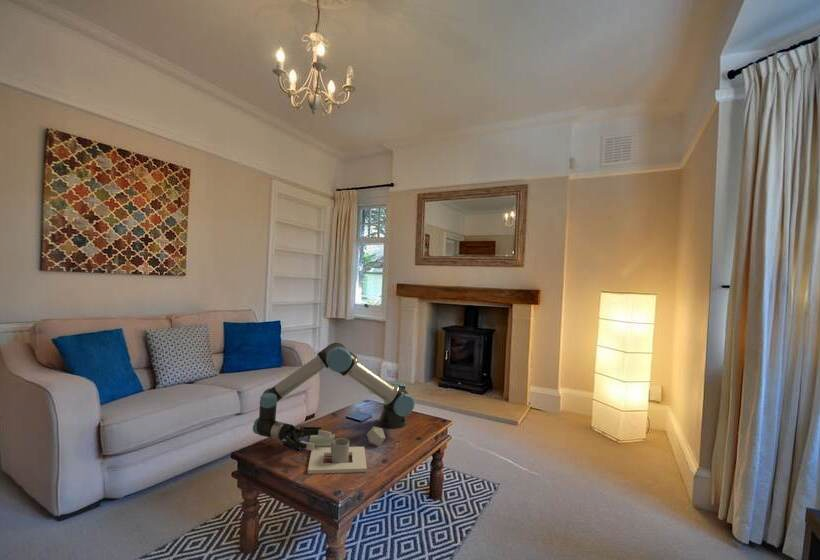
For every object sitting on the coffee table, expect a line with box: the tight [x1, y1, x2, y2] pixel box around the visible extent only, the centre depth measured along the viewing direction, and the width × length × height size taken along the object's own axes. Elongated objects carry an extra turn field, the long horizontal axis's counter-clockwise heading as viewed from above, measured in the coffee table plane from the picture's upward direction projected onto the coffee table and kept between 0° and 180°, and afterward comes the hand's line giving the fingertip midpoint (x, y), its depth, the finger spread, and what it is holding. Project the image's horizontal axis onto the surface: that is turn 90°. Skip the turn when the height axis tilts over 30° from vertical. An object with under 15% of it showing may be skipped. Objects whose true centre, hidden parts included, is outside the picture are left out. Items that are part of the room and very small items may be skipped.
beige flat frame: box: [307, 446, 368, 475], centre depth 161 cm, size 24×20×2 cm
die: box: [366, 425, 386, 447], centre depth 180 cm, size 8×9×10 cm
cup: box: [331, 437, 350, 463], centre depth 161 cm, size 7×10×9 cm
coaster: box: [308, 433, 336, 448], centre depth 179 cm, size 12×12×1 cm
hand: (322, 441), depth 163 cm, fingers open, 13 cm apart
